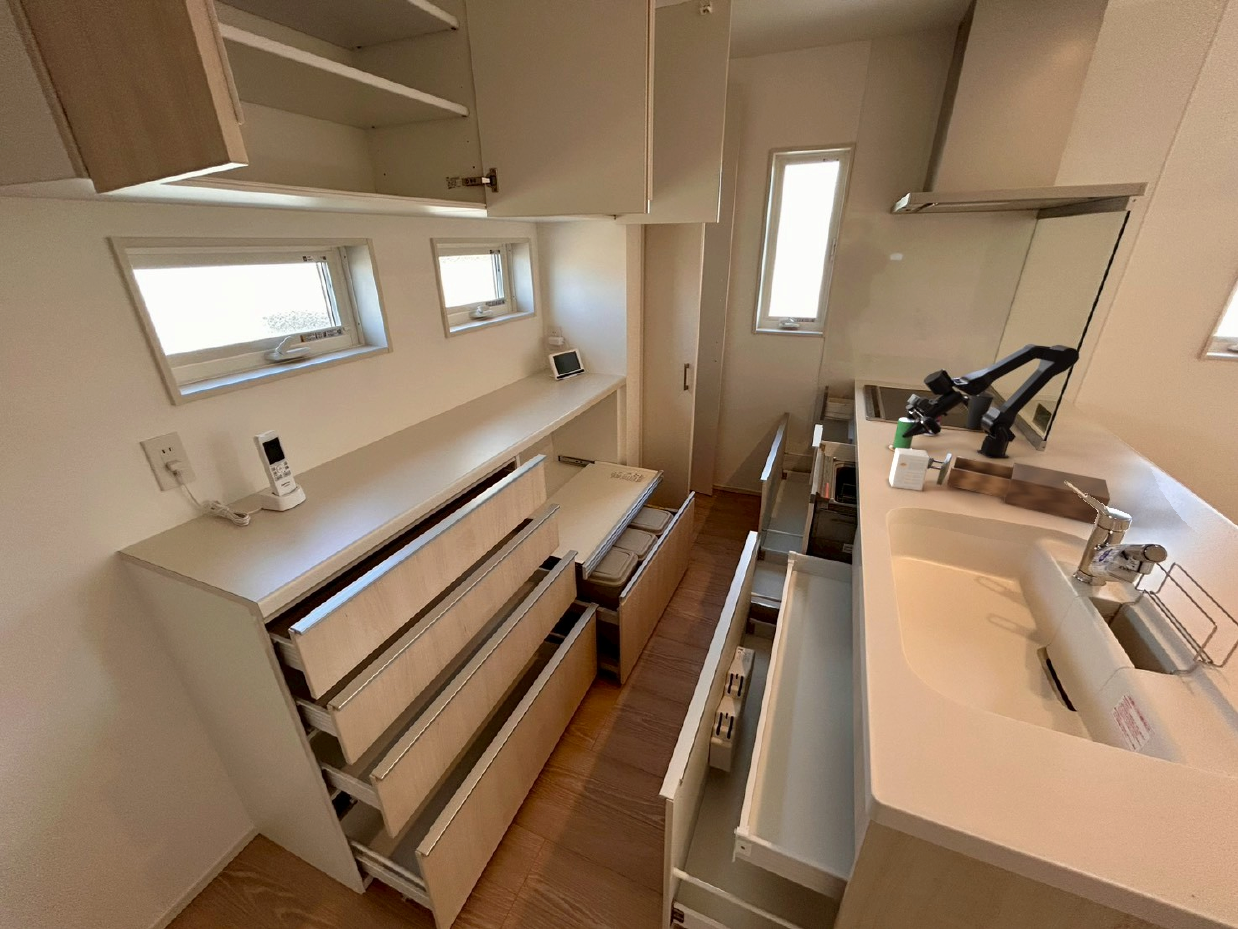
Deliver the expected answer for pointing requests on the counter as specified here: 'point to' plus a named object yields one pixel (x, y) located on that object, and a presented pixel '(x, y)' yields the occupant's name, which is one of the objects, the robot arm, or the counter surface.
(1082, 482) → the cabinet
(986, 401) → the drinking cup
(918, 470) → the small box
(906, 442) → the green can
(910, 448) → the coaster
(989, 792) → the counter surface
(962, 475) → the drawer
